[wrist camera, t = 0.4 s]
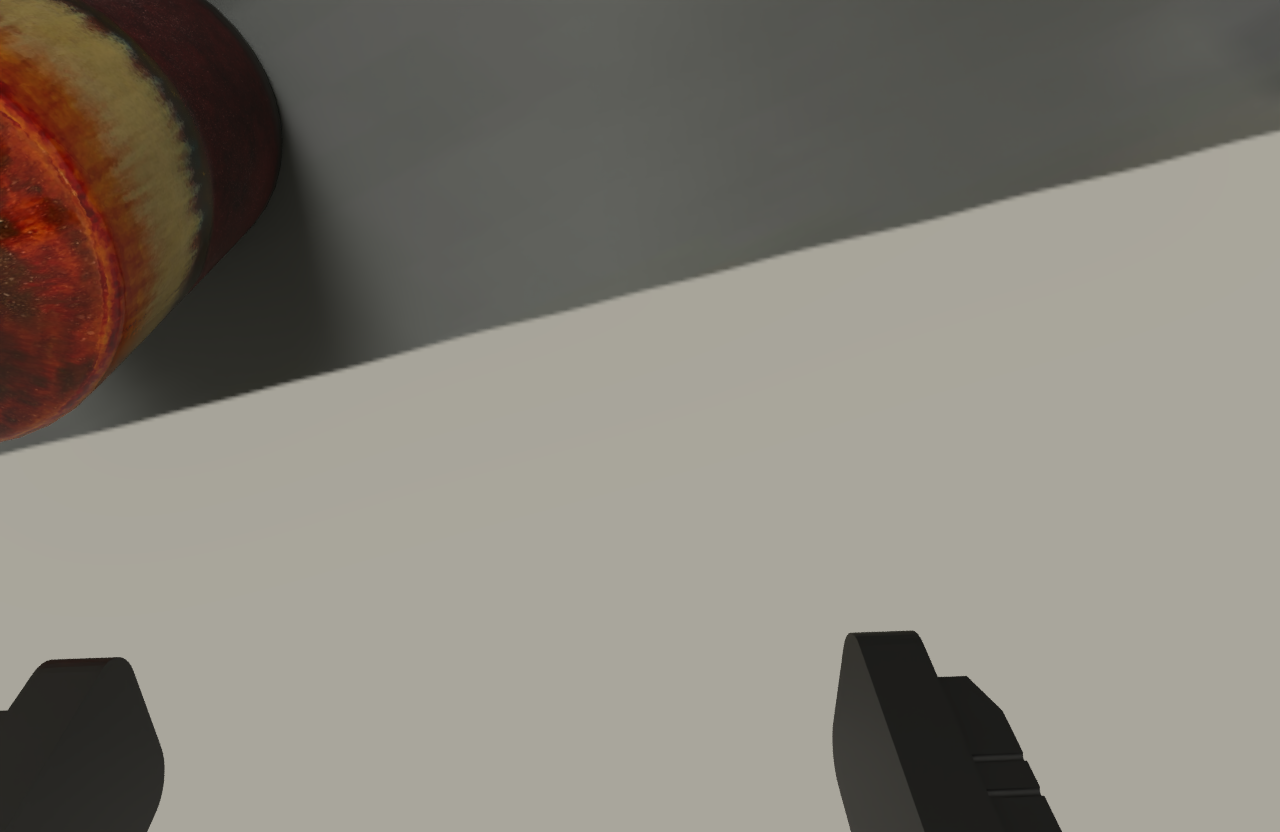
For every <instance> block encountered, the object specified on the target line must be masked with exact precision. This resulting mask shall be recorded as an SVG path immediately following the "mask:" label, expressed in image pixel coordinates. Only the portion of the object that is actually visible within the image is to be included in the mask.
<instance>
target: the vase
mask: <svg viewBox="0 0 1280 832" xmlns="http://www.w3.org/2000/svg"><path fill="white" fill-rule="evenodd" d="M281 155H282V132H281V121H280V116H279V112H278V108H277V104H276V100H275V96H274V93H273V91H272V88H271V86H270V83H269V81H268V78H267V76H266V73H265V71H264V69H263V68H262V66H261V64H260V63H259V61H258V59H257V57H256V56H255V54H254V52H253V50H252V49H251V47H250V46H249V45H248V43H247V42H246V41H245V40H244V38H243V37H242V36H241V34H240V33H239V32H238V30H237V29H236V28H235V27H234V26H233V25H232V24H231V23H230V22H229V21H228V20H227V19H226V18H225V17H224V16H223V15H222V14H221V13H220V12H219V11H218V10H217V9H216V8H215V7H214V6H213V5H212V4H210V3H209V2H208V1H206V0H0V442H4V441H8V440H12V439H17V438H20V437H23V436H25V435H27V434H30V433H32V432H35V431H37V430H40V429H42V428H44V427H47V426H49V425H51V424H52V423H54V422H55V421H57V420H58V419H60V418H61V417H63V416H64V415H66V414H68V413H69V412H71V411H72V410H74V409H75V408H76V407H77V406H79V405H80V404H81V403H82V402H83V401H84V400H85V399H86V398H87V397H88V396H89V395H90V394H91V393H92V392H93V391H94V390H95V389H96V388H97V387H98V386H99V385H100V384H101V383H102V382H103V381H104V380H105V379H106V378H107V377H108V376H109V375H110V374H111V373H112V372H113V371H114V370H115V369H116V368H117V367H118V366H119V365H120V364H121V363H122V362H123V361H124V360H125V359H126V358H127V357H128V356H129V355H130V354H131V353H132V352H133V351H134V350H135V349H136V347H137V346H138V345H139V344H140V343H141V342H142V341H143V340H144V339H145V338H146V337H147V336H148V335H149V334H150V333H151V332H152V331H153V330H154V329H155V328H156V327H157V326H158V324H159V323H160V322H161V321H162V320H163V319H164V318H165V317H166V316H167V315H168V314H169V313H170V312H171V311H172V310H173V309H174V308H175V307H176V306H177V305H178V304H179V303H180V302H181V300H182V299H183V298H184V297H185V296H186V295H187V294H188V293H189V292H190V291H191V290H192V289H193V288H194V287H195V286H196V285H197V284H198V283H199V282H200V281H201V279H202V278H203V277H204V276H205V275H206V274H207V273H208V272H209V271H210V270H211V269H212V268H213V267H214V266H215V265H216V264H217V263H218V262H219V260H220V259H221V258H222V257H223V256H224V255H225V254H226V253H227V252H228V251H229V250H230V249H231V248H232V247H233V246H234V245H235V244H236V243H237V242H238V240H239V239H240V238H241V237H242V236H243V235H244V234H245V233H246V232H247V231H248V230H249V229H250V228H251V226H252V225H253V224H254V223H255V222H256V220H257V219H258V218H259V216H260V215H261V213H262V212H263V210H264V209H265V208H266V206H267V204H268V202H269V199H270V197H271V195H272V193H273V191H274V188H275V186H276V182H277V178H278V174H279V170H280V166H281Z"/></svg>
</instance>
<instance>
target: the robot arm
mask: <svg viewBox="0 0 1280 832" xmlns="http://www.w3.org/2000/svg"><path fill="white" fill-rule="evenodd" d="M833 757H834V765H835V772H836V777H837V781H838V785H839V789H840V793H841V796H842V800H843V804H844V808H845V811H846V815H847V818H848V822H849V826H850V830H851V832H1062V831H1061V829H1060V827H1059V825H1058V823H1057V821H1056V819H1055V817H1054V815H1053V813H1052V811H1051V809H1050V807H1049V805H1048V803H1047V800H1046V798H1045V796H1041V794H1040V786H1039V784H1038V782H1037V780H1036V778H1035V776H1034V774H1033V772H1032V770H1031V768H1030V766H1029V764H1028V762H1027V761H1024V759H1023V752H1022V750H1021V748H1020V745H1019V743H1018V741H1017V739H1016V737H1015V735H1014V733H1013V731H1012V729H1011V727H1010V725H1009V723H1008V721H1007V719H1006V717H1005V715H1004V713H1003V711H1002V710H1001V709H1000V708H999V707H998V706H997V705H996V704H995V703H994V702H993V701H992V700H991V699H990V698H989V697H988V696H986V694H985V693H984V692H983V691H981V690H980V689H979V688H978V687H977V686H976V685H975V684H974V683H973V682H972V681H971V680H970V679H969V678H968V677H967V676H956V677H937V674H936V672H935V670H934V667H933V665H932V663H931V660H930V658H929V656H928V653H927V651H926V649H925V647H924V644H923V642H922V640H921V638H920V637H919V635H918V634H917V633H916V632H915V631H890V632H861V633H849V634H848V635H847V637H846V639H845V643H844V649H843V656H842V663H841V670H840V678H839V685H838V692H837V700H836V707H835V715H834V722H833ZM163 784H164V757H163V752H162V749H161V746H160V743H159V740H158V737H157V735H156V732H155V729H154V726H153V724H152V721H151V718H150V715H149V713H148V710H147V707H146V704H145V701H144V699H143V696H142V693H141V691H140V688H139V685H138V683H137V679H136V677H135V674H134V671H133V669H132V667H131V665H130V664H129V662H127V660H125V659H124V658H121V657H113V658H86V659H58V660H49V661H46V662H44V663H43V664H41V665H40V666H39V667H38V668H37V669H36V670H35V672H34V673H33V675H32V676H31V677H30V679H29V680H28V682H27V683H26V685H25V686H24V688H23V689H22V690H21V692H20V693H19V695H18V696H17V698H16V699H15V701H14V702H13V703H12V705H11V706H10V708H9V710H8V711H0V832H147V831H148V829H149V826H150V824H151V822H152V820H153V817H154V815H155V813H156V811H157V808H158V805H159V802H160V799H161V795H162V790H163Z"/></svg>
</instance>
